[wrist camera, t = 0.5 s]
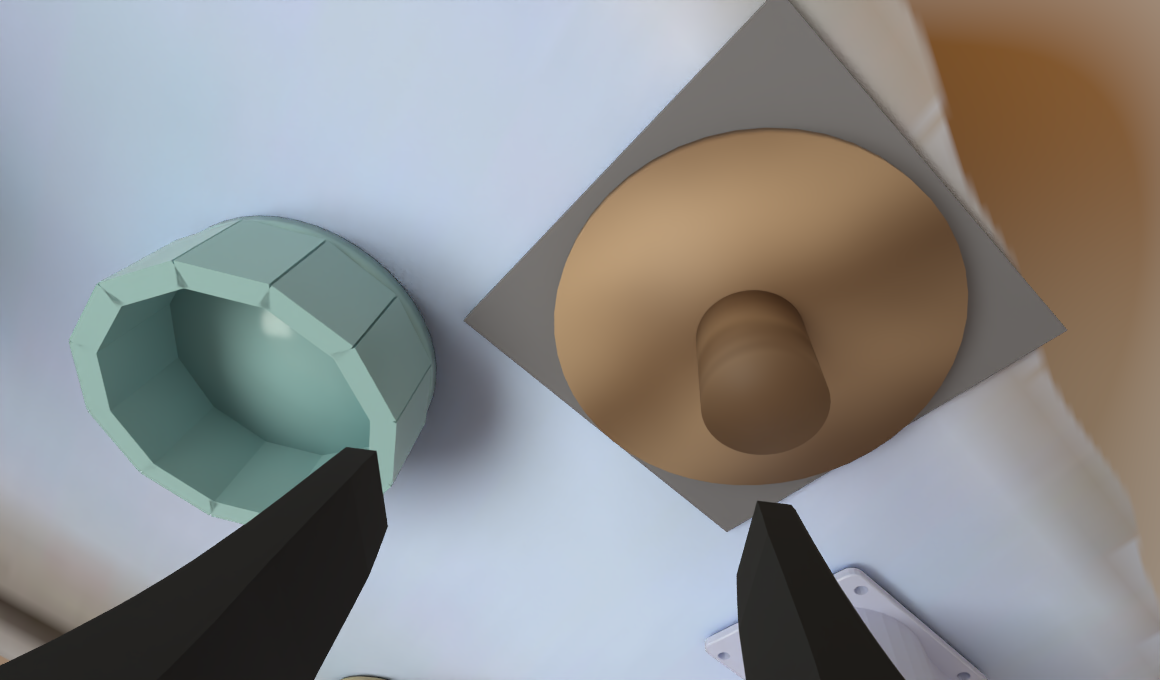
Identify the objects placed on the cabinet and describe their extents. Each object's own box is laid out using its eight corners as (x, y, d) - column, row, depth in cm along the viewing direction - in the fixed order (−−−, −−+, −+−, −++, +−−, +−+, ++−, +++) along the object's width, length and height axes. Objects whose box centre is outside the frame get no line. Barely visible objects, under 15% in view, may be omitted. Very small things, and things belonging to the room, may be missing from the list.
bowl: (491, 352, 22) (458, 424, 18) (348, 492, 26) (300, 570, 23) (237, 150, 19) (143, 190, 16) (126, 344, 24) (34, 408, 20)
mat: (1062, 325, 19) (1067, 330, 18) (726, 526, 24) (726, 531, 24) (777, -11, 15) (779, -11, 15) (466, 316, 21) (463, 320, 21)
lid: (1040, 329, 18) (1132, 418, 15) (728, 518, 24) (738, 618, 20) (775, 22, 15) (809, 39, 12) (484, 321, 21) (444, 396, 17)
